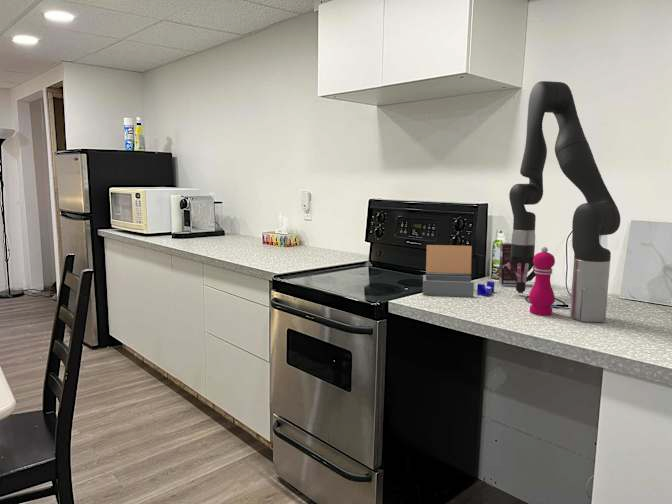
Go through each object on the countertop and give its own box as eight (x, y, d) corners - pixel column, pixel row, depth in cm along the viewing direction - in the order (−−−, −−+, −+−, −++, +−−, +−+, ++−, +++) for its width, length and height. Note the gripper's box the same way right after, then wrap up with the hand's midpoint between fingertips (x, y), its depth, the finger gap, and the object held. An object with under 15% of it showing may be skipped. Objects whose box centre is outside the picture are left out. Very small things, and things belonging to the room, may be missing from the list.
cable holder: (486, 297, 173) (486, 285, 172) (476, 295, 175) (477, 284, 175) (497, 293, 178) (498, 282, 178) (488, 292, 181) (489, 281, 180)
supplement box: (521, 284, 193) (523, 242, 191) (524, 286, 188) (526, 244, 186) (497, 283, 194) (500, 242, 192) (500, 286, 189) (502, 244, 187)
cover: (471, 245, 182) (471, 245, 183) (426, 244, 185) (426, 244, 185) (471, 275, 182) (470, 275, 182) (425, 274, 184) (425, 274, 185)
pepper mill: (538, 316, 147) (542, 249, 145) (522, 310, 154) (526, 245, 151) (559, 315, 149) (563, 248, 146) (543, 309, 156) (547, 245, 153)
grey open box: (473, 296, 172) (473, 282, 171) (422, 295, 175) (423, 280, 174) (470, 290, 183) (470, 276, 182) (422, 288, 185) (423, 274, 185)
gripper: (504, 243, 169) (502, 294, 171) (546, 244, 167) (543, 295, 169) (501, 241, 176) (498, 289, 179) (541, 241, 174) (538, 291, 177)
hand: (520, 292), depth 174 cm, fingers closed
